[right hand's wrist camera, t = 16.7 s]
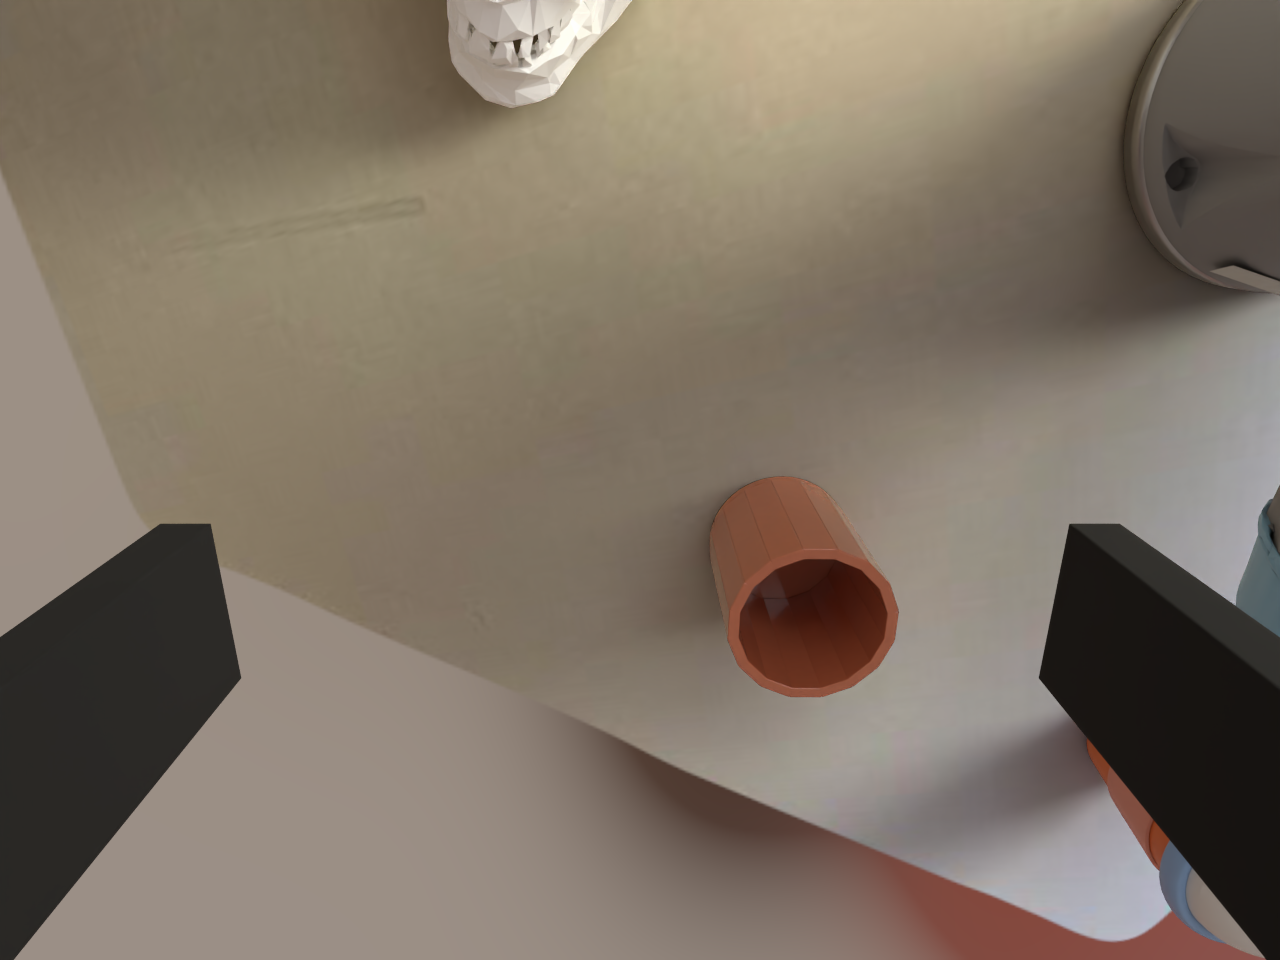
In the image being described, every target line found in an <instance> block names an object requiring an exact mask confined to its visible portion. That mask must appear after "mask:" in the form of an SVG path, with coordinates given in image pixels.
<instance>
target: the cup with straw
mask: <svg viewBox="0 0 1280 960" xmlns="http://www.w3.org/2000/svg"><path fill="white" fill-rule="evenodd" d="M1087 750H1088V753H1089V756H1090V758H1091V760H1092V762H1093V763H1094V765H1095V767H1096V768H1097V770H1098V772H1099V773H1100V775H1101V776H1102V778H1103V780H1104V781H1105V783H1106V784H1107V786H1108V790H1109V793H1110V796H1111V798H1112V800H1113V802H1114V803H1115V805H1116V806H1117V808H1118V810H1119V811H1120V813H1121V814H1122V816H1123V818H1124V819H1125V821H1126V822H1127V824H1128V826H1129V827H1130V829H1131V830H1132V832H1133V834H1134V835H1135V837H1136V838H1137V840H1138V842H1139V843H1140V845H1141V846H1142V848H1143V850H1144V851H1145V853H1146V854H1147V856H1148V857H1149V859H1150V861H1151V862H1152V864H1153V865H1154V866H1155V867H1156V868H1157V869H1158V870H1159V878H1160V885H1161V889H1162V892H1163V895H1164V897H1165V900H1166V901H1167V903H1168V905H1169V906H1170V908H1171V909H1172V911H1173V912H1174V913H1175V914H1176V916H1177V917H1178V918H1179V919H1180V920H1181V921H1182V922H1183V923H1184V924H1185V925H1187V926H1188V927H1189V928H1191V929H1192V930H1193V931H1195V932H1197V933H1198V934H1200V935H1202V936H1204V937H1206V938H1209V939H1211V940H1214V941H1217V942H1221V943H1225V944H1229V945H1230V946H1232V947H1234V948H1237V949H1239V950H1241V951H1243V952H1246V953H1249V954H1252V955H1255V956H1258V957H1262V958H1265V957H1264V956H1263V955H1262V954H1261V952H1260V951H1259V950H1258V949H1257V947H1256V946H1255V945H1254V944H1253V943H1252V941H1251V940H1250V939H1249V938H1248V936H1247V935H1246V934H1245V933H1244V931H1243V930H1242V929H1241V928H1240V926H1239V925H1238V924H1237V923H1236V922H1235V920H1234V919H1233V918H1232V917H1231V915H1230V914H1229V913H1228V912H1227V910H1226V909H1225V908H1224V907H1223V905H1222V904H1221V903H1220V902H1219V900H1218V899H1217V898H1216V897H1215V896H1214V894H1213V893H1212V892H1211V891H1210V889H1209V888H1208V887H1207V886H1206V884H1205V883H1204V882H1203V881H1202V879H1201V878H1200V877H1199V876H1198V874H1197V873H1196V872H1195V871H1194V870H1193V868H1192V867H1191V866H1190V865H1189V863H1188V862H1187V861H1186V860H1185V858H1184V857H1183V856H1182V855H1181V853H1180V852H1179V851H1178V850H1177V848H1176V847H1175V846H1174V845H1173V844H1172V842H1171V841H1170V840H1169V839H1168V837H1167V836H1166V835H1165V834H1164V832H1163V831H1162V830H1161V829H1160V827H1159V826H1158V825H1157V824H1156V822H1155V821H1154V820H1153V819H1152V818H1151V816H1150V815H1149V814H1148V813H1147V811H1146V810H1145V809H1144V808H1143V806H1142V805H1141V804H1140V803H1139V801H1138V800H1137V799H1136V798H1135V796H1134V795H1133V794H1132V793H1131V792H1130V790H1129V789H1128V788H1127V787H1126V785H1125V784H1124V783H1123V782H1122V780H1121V779H1120V778H1119V777H1118V775H1117V774H1116V773H1115V772H1114V770H1113V769H1112V768H1111V767H1110V766H1109V764H1108V763H1107V762H1106V761H1105V759H1104V758H1103V757H1102V756H1101V754H1100V753H1099V752H1098V751H1097V749H1096V748H1095V747H1094V746H1093V744H1092V743H1091V742H1090V741H1089V740H1088V738H1087Z"/></svg>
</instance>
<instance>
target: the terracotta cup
mask: <svg viewBox="0 0 1280 960" xmlns="http://www.w3.org/2000/svg"><path fill="white" fill-rule="evenodd" d="M709 547H710V560H711V565H712V569H713V574H714V579H715V583H716V588H717V593H718V597H719V602H720V607H721V611H722V616H723V621H724V625H725V630H726V635H727V639H728V642H729V645H730V647H731V650H732V652H733V654H734V657H735V659H736V662H737V664H738V666H739V667H740V668H741V669H742V670H743V671H744V672H745V673H746V674H748V675H749V676H750V677H751V678H752V679H753V680H754V681H755V682H756V683H757V684H758V685H760V686H761V687H764V688H767V689H769V690H772V691H775V692H777V693H780V694H783V695H786V696H788V697H789V696H790V697H821V696H822V697H824V696H827V695H830V694H833V693H836V692H839V691H842V690H845V689H848V688H851V687H852V686H854V685H856V684H857V683H858V682H860V681H861V680H862V679H864V678H865V677H866V676H867V675H869V674H870V673H871V672H873V671H874V670H875V669H877V668H878V667H879V665H880V664H881V662H882V660H883V659H884V657H885V656H886V654H887V652H888V651H889V649H890V648H891V646H892V644H893V643H894V640H895V634H896V627H897V620H898V613H899V612H898V607H897V604H896V601H895V598H894V594H893V591H892V588H891V585H890V583H889V581H888V580H887V578H886V577H885V575H884V574H883V572H882V571H881V569H880V568H879V566H878V565H877V563H876V561H875V560H874V558H873V557H872V555H871V554H870V552H869V551H868V549H867V548H866V546H865V545H864V543H863V541H862V540H861V538H860V537H859V535H858V534H857V532H856V531H855V529H854V528H853V526H852V524H851V523H850V521H849V520H848V518H847V517H846V515H845V514H844V512H843V511H842V509H841V508H840V507H839V506H838V505H837V504H836V502H835V501H834V500H833V499H832V497H831V496H830V495H829V494H828V493H826V492H825V491H824V490H823V489H821V488H820V487H818V486H817V485H815V484H813V483H811V482H808V481H805V480H803V479H799V478H794V477H771V478H765V479H762V480H758V481H755V482H753V483H751V484H748V485H746V486H745V487H743V488H741V489H740V490H738V491H737V492H736V493H734V494H733V495H732V496H731V497H730V498H729V499H728V500H727V501H726V502H725V503H724V504H723V506H722V507H721V508H720V510H719V511H718V513H717V515H716V517H715V519H714V522H713V524H712V528H711V531H710V539H709Z"/></svg>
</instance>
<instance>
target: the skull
mask: <svg viewBox="0 0 1280 960" xmlns="http://www.w3.org/2000/svg"><path fill="white" fill-rule="evenodd" d="M631 1H632V0H447V17H448V20H449V33H448V41H449V48H450V54H451V61H452V63H453V65H454V66H455V68H456V70H457V71H458V73H459V74H460V75H461V76H462V77H463V78H464V79H465V80H466V81H467V82H468V83H469V84H470V85H471V86H472V87H473V88H474V89H475V90H476V91H477V92H478V93H479V94H480V95H481V96H482V97H483V98H484V99H485V100H487V101H490V102H493V103H496V104H499V105H502V106H506V107H509V108H515V107H519V106H523V105H528V104H532V103H536V102H539V101H542V100H544V99H546V98H549V97H551V96H553V95H555V93H556V92H557V91H558V89H559V88H560V86H561V85H562V83H563V82H564V81H565V79H566V78H567V76H568V75H569V73H570V72H571V70H572V69H573V68H574V66H575V65H576V63H577V62H578V61H579V60H580V58H581V57H582V56H583V55H584V53H585V52H586V51H587V50H588V49H589V48H590V47H591V46H592V45H593V44H594V43H595V42H596V41H597V40H598V39H599V38H600V37H601V36H602V35H603V34H604V33H605V32H606V31H607V30H608V29H609V28H610V27H611V26H612V25H613V24H614V23H615V22H616V21H617V20H618V18H619V17H620V16H621V14H622V13H623V12H624V10H625V9H626V8H627V6H628V5H629V4H630V2H631ZM548 30H549V32H548ZM536 34H538V40H537V41H536V42H535V44H533V45H532V42H533V36H534V35H536ZM517 39H521V45H520V50H519V53H515V48H514V44H513V40H517ZM490 41H492V42H497V44H496V47H495V48H494V46H493V45H492V43H491V42H490Z"/></svg>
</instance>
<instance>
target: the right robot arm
mask: <svg viewBox="0 0 1280 960" xmlns="http://www.w3.org/2000/svg"><path fill="white" fill-rule="evenodd" d="M1124 172H1125V180H1126V186H1127V191H1128V195H1129V199H1130V202H1131V205H1132V208H1133V211H1134V214H1135V216H1136V218H1137V220H1138V222H1139V224H1140V226H1141V228H1142V230H1143V231H1144V233H1145V235H1146V236H1147V238H1148V239H1149V241H1150V242H1151V243H1152V244H1153V246H1154V247H1155V248H1156V249H1157V251H1158V252H1159V253H1161V254H1162V255H1163V256H1164V257H1165V258H1166V259H1167V260H1168V261H1169V262H1170V263H1172V264H1173V265H1174V266H1176V267H1177V268H1178V269H1180V270H1182V271H1183V272H1185V273H1187V274H1189V275H1190V276H1192V277H1194V278H1197V279H1199V280H1202V281H1204V282H1207V283H1210V284H1214V285H1217V286H1222V287H1228V288H1233V289H1239V290H1245V291H1251V292H1260V293H1274V294H1277V295H1280V0H1185V1H1184V2H1183V4H1182V5H1181V6H1180V7H1179V8H1178V10H1177V11H1176V12H1175V14H1174V15H1173V16H1172V18H1171V19H1170V20H1169V22H1168V23H1167V24H1166V26H1165V28H1164V29H1163V31H1162V32H1161V34H1160V36H1159V37H1158V39H1157V40H1156V42H1155V44H1154V46H1153V48H1152V50H1151V51H1150V53H1149V55H1148V57H1147V59H1146V61H1145V64H1144V66H1143V68H1142V71H1141V73H1140V75H1139V78H1138V80H1137V83H1136V86H1135V89H1134V92H1133V95H1132V99H1131V103H1130V107H1129V111H1128V115H1127V121H1126V128H1125V136H1124ZM240 679H241V675H240V670H239V665H238V660H237V655H236V649H235V645H234V640H233V634H232V630H231V624H230V619H229V614H228V609H227V604H226V599H225V595H224V589H223V584H222V579H221V574H220V569H219V564H218V559H217V554H216V549H215V544H214V539H213V534H212V529H211V524H159V525H158V526H157V527H155V528H154V529H152V530H151V531H150V532H148V533H147V534H145V535H144V536H143V537H141V538H140V539H138V540H137V541H135V542H134V543H133V544H131V545H130V546H128V547H127V548H126V549H124V550H123V551H121V552H120V553H119V554H117V555H116V556H114V557H113V558H111V559H110V560H109V561H107V562H106V563H104V564H103V565H102V566H100V567H99V568H97V569H96V570H95V571H93V572H92V573H90V574H89V575H87V576H86V577H85V578H83V579H82V580H80V581H79V582H78V583H76V584H75V585H73V586H72V587H70V588H69V589H68V590H66V591H65V592H63V593H62V594H61V595H59V596H58V597H56V598H55V599H54V600H52V601H51V602H49V603H48V604H47V605H45V606H44V607H42V608H41V609H40V610H38V611H37V612H35V613H34V614H32V615H31V616H30V617H28V618H27V619H25V620H24V621H22V622H21V623H20V624H18V625H17V626H15V627H14V628H13V629H11V630H10V631H8V632H7V633H5V634H4V635H3V636H1V637H0V960H14V959H15V957H16V956H17V955H18V954H19V952H20V951H21V950H22V949H23V947H24V946H25V945H26V944H27V943H28V941H29V940H30V939H31V938H32V936H33V935H34V934H35V933H36V931H37V930H38V929H39V928H40V926H41V925H42V924H43V923H44V921H45V920H46V919H47V918H48V917H49V915H50V914H51V913H52V912H53V910H54V909H55V908H56V907H57V905H58V904H59V903H60V902H61V900H62V899H63V898H64V897H65V895H66V894H67V893H68V892H69V891H70V889H71V888H72V887H73V886H74V884H75V883H76V882H77V881H78V879H79V878H80V877H81V876H82V874H83V873H84V872H85V871H86V869H87V868H88V867H89V866H90V864H91V863H92V862H93V861H94V860H95V858H96V857H97V856H98V855H99V853H100V852H101V851H102V850H103V848H104V847H105V846H106V845H107V843H108V842H109V841H110V840H111V839H112V837H113V836H114V835H115V834H116V832H117V831H118V830H119V829H120V827H121V826H122V825H123V824H124V822H125V821H126V820H127V819H128V818H129V816H130V815H131V814H132V813H133V811H134V810H135V809H136V808H137V806H138V805H139V804H140V803H141V801H142V800H143V799H144V798H145V796H146V795H147V794H148V793H149V792H150V790H151V789H152V788H153V787H154V785H155V784H156V783H157V782H158V780H159V779H160V778H161V777H162V775H163V774H164V773H165V772H166V770H167V769H168V768H169V767H170V766H171V764H172V763H173V762H174V761H175V759H176V758H177V757H178V756H179V754H180V753H181V752H182V751H183V749H184V748H185V747H186V746H187V744H188V743H189V742H190V741H191V740H192V738H193V737H194V736H195V735H196V733H197V732H198V731H199V730H200V728H201V727H202V726H203V725H204V723H205V722H206V721H207V720H208V718H209V717H210V716H211V715H212V714H213V712H214V711H215V710H216V709H217V707H218V706H219V705H220V704H221V702H222V701H223V700H224V699H225V697H226V696H227V695H228V694H229V693H230V691H231V690H232V689H233V688H234V686H235V685H236V684H237V682H238V681H239V680H240ZM1039 679H1040V680H1041V681H1042V683H1043V684H1044V685H1045V686H1046V688H1047V689H1048V690H1049V691H1050V693H1051V694H1052V695H1053V696H1054V697H1055V699H1056V700H1057V701H1058V702H1059V704H1060V705H1061V706H1062V707H1063V709H1064V710H1065V711H1066V712H1067V714H1068V715H1069V716H1070V717H1071V718H1072V720H1073V721H1074V722H1075V723H1076V725H1077V726H1078V727H1079V728H1080V730H1081V731H1082V732H1083V733H1084V735H1085V736H1086V737H1087V738H1088V740H1089V741H1090V742H1091V743H1092V744H1093V746H1094V747H1095V748H1096V749H1097V751H1098V752H1099V753H1100V754H1101V756H1102V757H1103V758H1104V759H1105V761H1106V762H1107V763H1108V764H1109V766H1110V767H1111V768H1112V769H1113V770H1114V772H1115V773H1116V774H1117V775H1118V777H1119V778H1120V779H1121V780H1122V782H1123V783H1124V784H1125V785H1126V787H1127V788H1128V789H1129V790H1130V792H1131V793H1132V794H1133V795H1134V796H1135V798H1136V799H1137V800H1138V801H1139V803H1140V804H1141V805H1142V806H1143V808H1144V809H1145V810H1146V811H1147V813H1148V814H1149V815H1150V816H1151V818H1152V819H1153V820H1154V821H1155V822H1156V824H1157V825H1158V826H1159V827H1160V829H1161V830H1162V831H1163V832H1164V834H1165V835H1166V836H1167V837H1168V839H1169V840H1170V841H1171V842H1172V844H1173V845H1174V846H1175V847H1176V848H1177V850H1178V851H1179V852H1180V853H1181V855H1182V856H1183V857H1184V858H1185V860H1186V861H1187V862H1188V863H1189V865H1190V866H1191V867H1192V868H1193V870H1194V871H1195V872H1196V873H1197V874H1198V876H1199V877H1200V878H1201V879H1202V881H1203V882H1204V883H1205V884H1206V886H1207V887H1208V888H1209V889H1210V891H1211V892H1212V893H1213V894H1214V896H1215V897H1216V898H1217V899H1218V900H1219V902H1220V903H1221V904H1222V905H1223V907H1224V908H1225V909H1226V910H1227V912H1228V913H1229V914H1230V915H1231V917H1232V918H1233V919H1234V920H1235V922H1236V923H1237V924H1238V925H1239V926H1240V928H1241V929H1242V930H1243V931H1244V933H1245V934H1246V935H1247V936H1248V938H1249V939H1250V940H1251V941H1252V943H1253V944H1254V945H1255V946H1256V947H1257V949H1258V950H1259V951H1260V952H1261V954H1262V955H1263V956H1264V957H1265V959H1266V960H1280V486H1279V488H1278V490H1277V492H1276V494H1275V496H1274V498H1273V499H1270V500H1269V501H1268V502H1267V504H1266V505H1265V506H1264V508H1263V510H1262V513H1261V514H1260V516H1259V520H1258V537H1257V540H1256V542H1255V545H1254V548H1253V551H1252V554H1251V556H1250V559H1249V562H1248V565H1247V567H1246V570H1245V572H1244V575H1243V577H1242V579H1241V582H1240V584H1239V588H1238V592H1237V595H1236V606H1235V605H1234V604H1232V603H1231V602H1229V601H1228V600H1226V599H1225V598H1224V597H1222V596H1221V595H1219V594H1218V593H1217V592H1215V591H1214V590H1212V589H1211V588H1210V587H1208V586H1207V585H1205V584H1204V583H1202V582H1201V581H1200V580H1198V579H1197V578H1195V577H1194V576H1193V575H1191V574H1190V573H1188V572H1187V571H1186V570H1184V569H1183V568H1181V567H1180V566H1178V565H1177V564H1176V563H1174V562H1173V561H1171V560H1170V559H1169V558H1167V557H1166V556H1164V555H1163V554H1162V553H1160V552H1159V551H1157V550H1156V549H1154V548H1153V547H1152V546H1150V545H1149V544H1147V543H1146V542H1145V541H1143V540H1142V539H1140V538H1139V537H1137V536H1136V535H1135V534H1133V533H1132V532H1130V531H1129V530H1128V529H1126V528H1125V527H1123V526H1122V525H1121V524H1069V529H1068V534H1067V539H1066V544H1065V549H1064V554H1063V559H1062V564H1061V569H1060V574H1059V579H1058V584H1057V589H1056V594H1055V599H1054V604H1053V609H1052V614H1051V619H1050V624H1049V629H1048V634H1047V639H1046V644H1045V649H1044V655H1043V660H1042V665H1041V670H1040V675H1039Z"/></svg>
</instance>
